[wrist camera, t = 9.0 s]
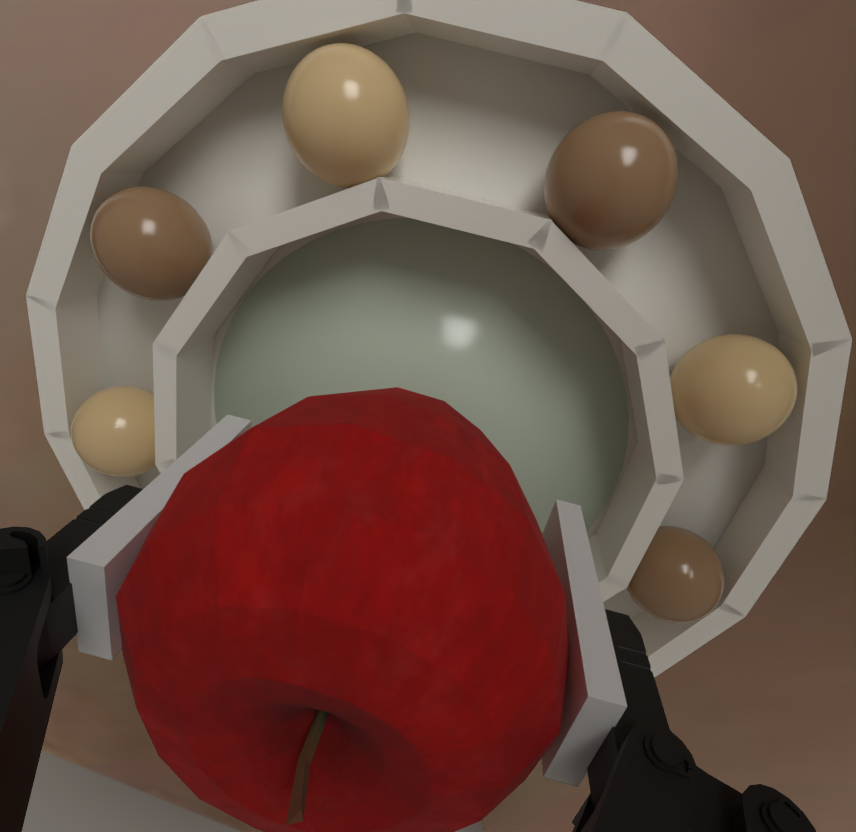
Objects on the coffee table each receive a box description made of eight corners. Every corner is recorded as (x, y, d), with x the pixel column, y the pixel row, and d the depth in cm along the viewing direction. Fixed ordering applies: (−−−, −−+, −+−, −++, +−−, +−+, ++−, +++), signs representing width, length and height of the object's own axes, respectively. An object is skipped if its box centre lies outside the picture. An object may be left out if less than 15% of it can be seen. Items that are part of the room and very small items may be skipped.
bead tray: (62, -88, 15) (-93, -181, 11) (979, 131, 15) (1157, 115, 11) (113, 585, 27) (46, 656, 23) (618, 719, 26) (638, 815, 22)
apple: (290, 288, 16) (-66, 484, 6) (595, 381, 16) (747, 732, 6) (254, 535, 20) (17, 882, 10) (492, 608, 20) (480, 1026, 10)
